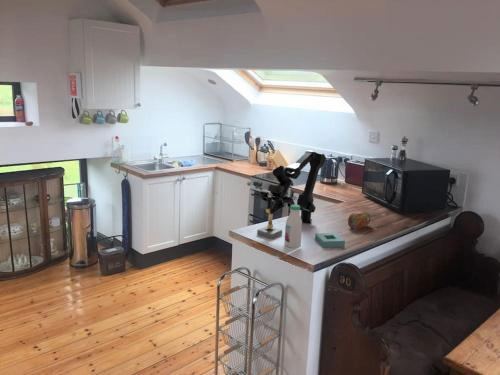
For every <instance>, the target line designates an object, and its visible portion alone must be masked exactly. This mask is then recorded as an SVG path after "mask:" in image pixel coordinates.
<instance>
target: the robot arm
mask: <svg viewBox="0 0 500 375" xmlns="http://www.w3.org/2000/svg"><path fill="white" fill-rule="evenodd" d="M326 160H327V157H326V155H325V154H324V153H321V152H316V151H314V150H306V151H305V152H304V153H303V154H302V156H301V157H300V158H299V159H297V160H296V161H295V162H294V163H291V164H289V165H287V166H286V167H285V166H284V165H279V166H278V167H275V168H274V169H273V171H272V175H273V176H274V178H275V180H276V181H277V182H278V185H276V184H275V185H274V184H269V186H268V189H267V191H265V190H261V191H260V192H259V195H258V196H259V197H260V198H261V199H262V201H264V202H267V208H270V207H273V206H274V207H273V209H272V210H271V214H273V215H274V213H275V212H277V211H278V210H280V209H282V208H285V205H286V204H287V207H288V208H290V206H291V205H299V206H300V217H301V220H302V223H309V224H312V221H313V220H312V219H313V218H312V213H315V211H316V210H317V209H316V206H315V204H314V197H313V194H314V193H313V192H314V190H315V189H314V188H315V185H316V182H317V179H318V176H319V175H318V174H319V171H320V170H321V168H323V167H324V166H325V162H326ZM308 164H309V167H310V168H309V170H308V171H309V172H308V174H307V179H306V182H305V187H304V190H303V192H302V193H299V195H298V198H297V201H296V203H295V201H294V199H293V198H292V197H291V196H287V195H288V194H289V192H288V191H289V189H290V188H291V187H293V186H294V182H293V181H294V180H297V179H298V178H299V176H300V175H301V173H302V172H301V171H302V170H303V169H304V168H305V167H306V166H307V165H308ZM269 192H270V193H269ZM274 201H275V202H274ZM267 208H266V209H267Z"/></svg>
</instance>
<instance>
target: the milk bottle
mask: <svg viewBox="0 0 500 375" xmlns="http://www.w3.org/2000/svg"><path fill="white" fill-rule="evenodd" d="M289 210H290V211H289V214H288V217H287V218H286V221H285V228H284V229H285V231H284V246H285V247H288V248H291V249H295V248H300V247H301V243H302V234H303V233H302V231H303V222H302V220H301V210H300V206H299V205H297V204H295V205H291V206H290V207H289Z"/></svg>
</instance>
